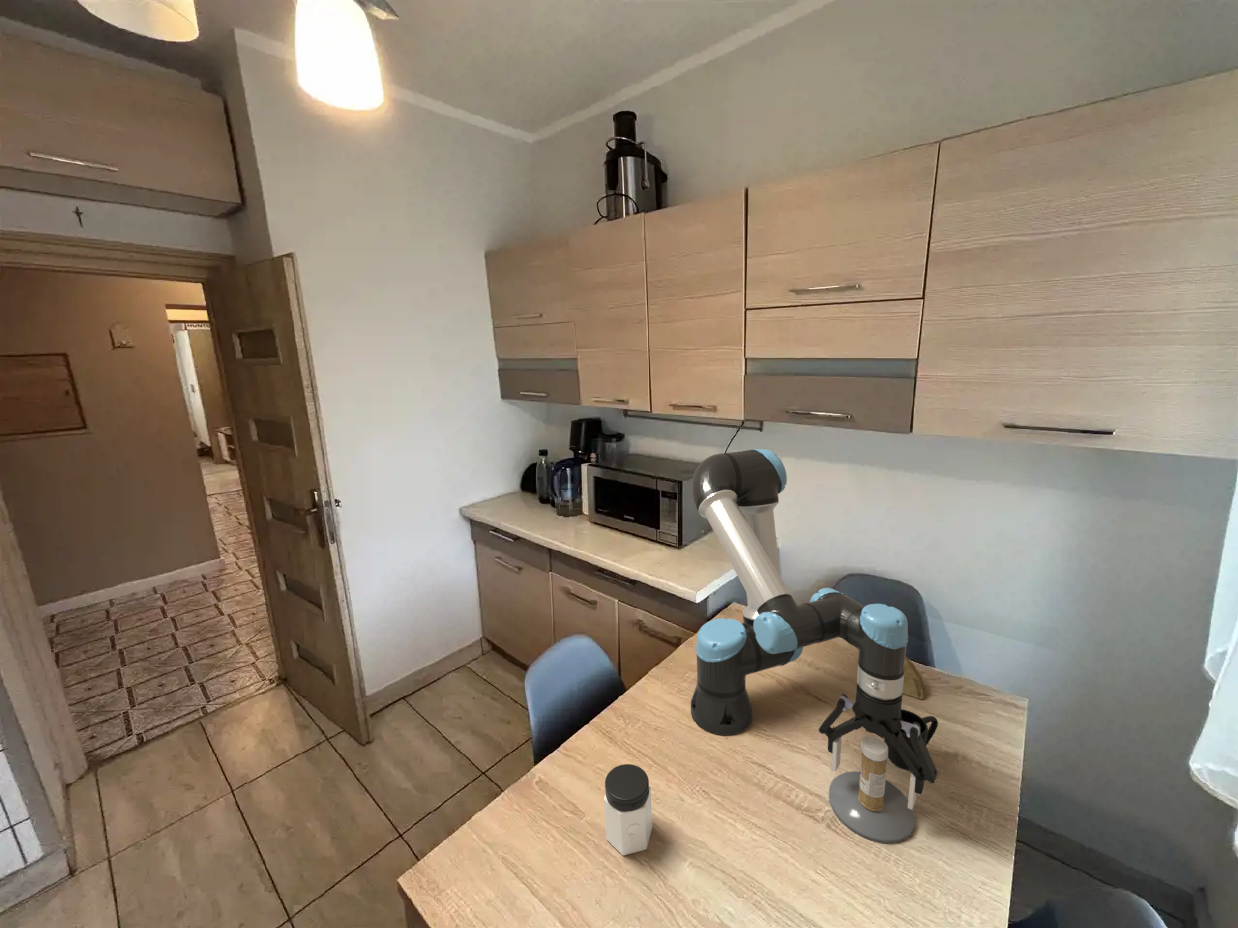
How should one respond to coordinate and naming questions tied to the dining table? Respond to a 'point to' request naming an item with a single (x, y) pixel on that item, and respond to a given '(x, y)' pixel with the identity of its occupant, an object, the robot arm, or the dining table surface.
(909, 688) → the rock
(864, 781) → the sprinkles bottle
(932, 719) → the mug
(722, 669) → the robot arm
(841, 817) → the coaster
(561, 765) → the dining table surface
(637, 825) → the jar
